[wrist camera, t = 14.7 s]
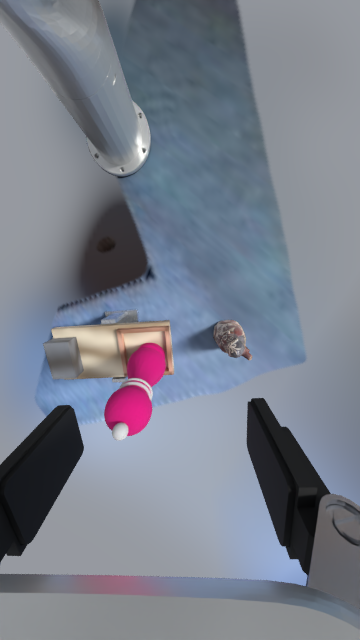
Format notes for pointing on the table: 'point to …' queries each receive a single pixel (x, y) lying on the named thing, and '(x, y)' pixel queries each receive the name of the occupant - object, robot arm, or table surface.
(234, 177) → the table surface
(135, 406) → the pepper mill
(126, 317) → the fulcrum
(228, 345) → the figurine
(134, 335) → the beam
